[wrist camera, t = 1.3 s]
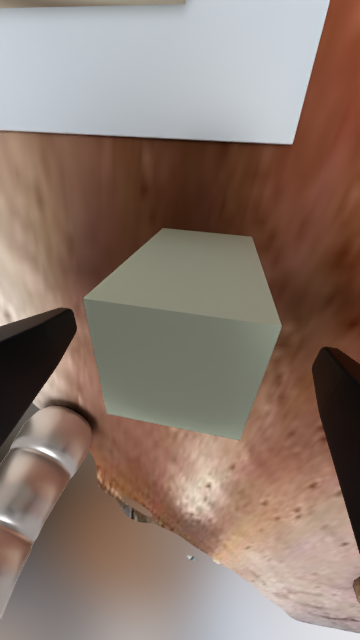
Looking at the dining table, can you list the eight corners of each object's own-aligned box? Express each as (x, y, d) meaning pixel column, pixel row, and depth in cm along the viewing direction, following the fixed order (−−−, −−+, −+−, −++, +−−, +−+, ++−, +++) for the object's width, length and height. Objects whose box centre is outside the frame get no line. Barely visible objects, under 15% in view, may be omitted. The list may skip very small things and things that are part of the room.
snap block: (251, 236, 11) (281, 326, 5) (234, 313, 14) (239, 440, 7) (162, 228, 12) (82, 298, 5) (162, 303, 15) (106, 413, 8)
